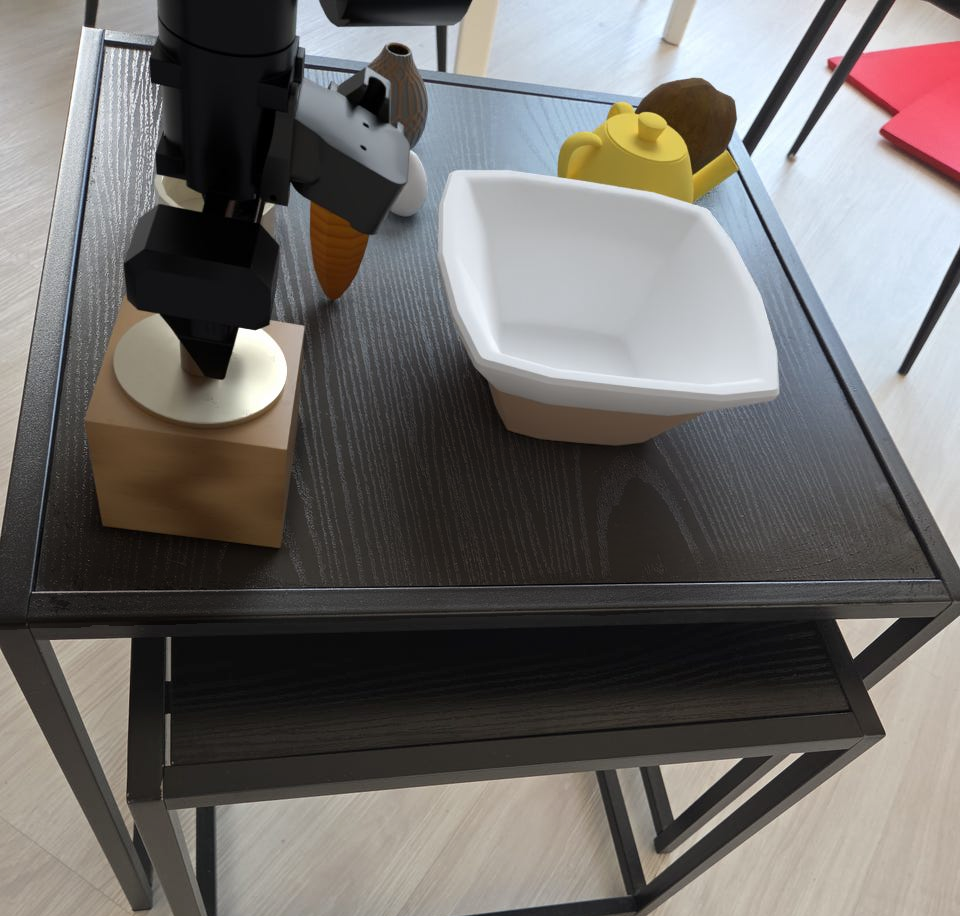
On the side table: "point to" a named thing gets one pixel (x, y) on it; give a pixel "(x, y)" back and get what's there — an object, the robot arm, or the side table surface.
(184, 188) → the pot
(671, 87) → the potato
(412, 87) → the vase
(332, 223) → the carrot
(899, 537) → the side table surface
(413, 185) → the egg
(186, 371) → the lid
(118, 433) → the stand
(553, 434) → the bowl
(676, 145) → the teapot
